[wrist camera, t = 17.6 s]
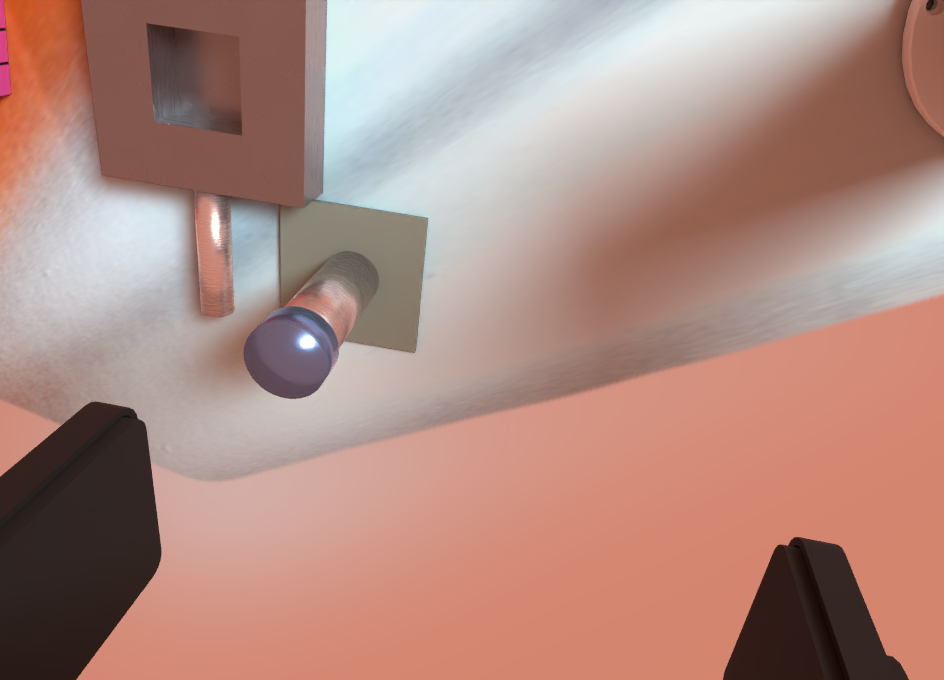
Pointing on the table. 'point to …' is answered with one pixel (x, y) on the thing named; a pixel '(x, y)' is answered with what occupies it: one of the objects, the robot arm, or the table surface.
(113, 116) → the block
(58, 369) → the table surface
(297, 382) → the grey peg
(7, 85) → the puzzle toy
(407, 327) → the mat
